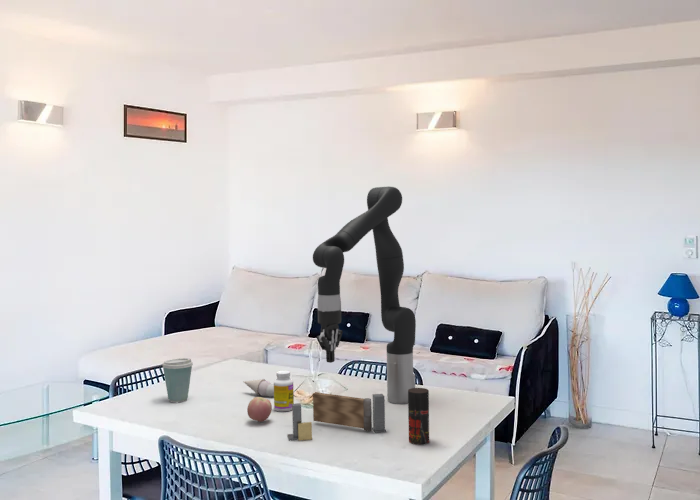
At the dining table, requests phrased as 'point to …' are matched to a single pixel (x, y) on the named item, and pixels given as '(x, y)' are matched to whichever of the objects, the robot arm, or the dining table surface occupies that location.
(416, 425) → the deodorant
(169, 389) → the disposable coffee cup
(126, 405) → the dining table surface
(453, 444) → the dining table surface
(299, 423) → the toy blocks
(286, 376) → the supplement bottle
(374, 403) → the hinge post
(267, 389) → the ice cream cone
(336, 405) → the gate
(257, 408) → the apple
